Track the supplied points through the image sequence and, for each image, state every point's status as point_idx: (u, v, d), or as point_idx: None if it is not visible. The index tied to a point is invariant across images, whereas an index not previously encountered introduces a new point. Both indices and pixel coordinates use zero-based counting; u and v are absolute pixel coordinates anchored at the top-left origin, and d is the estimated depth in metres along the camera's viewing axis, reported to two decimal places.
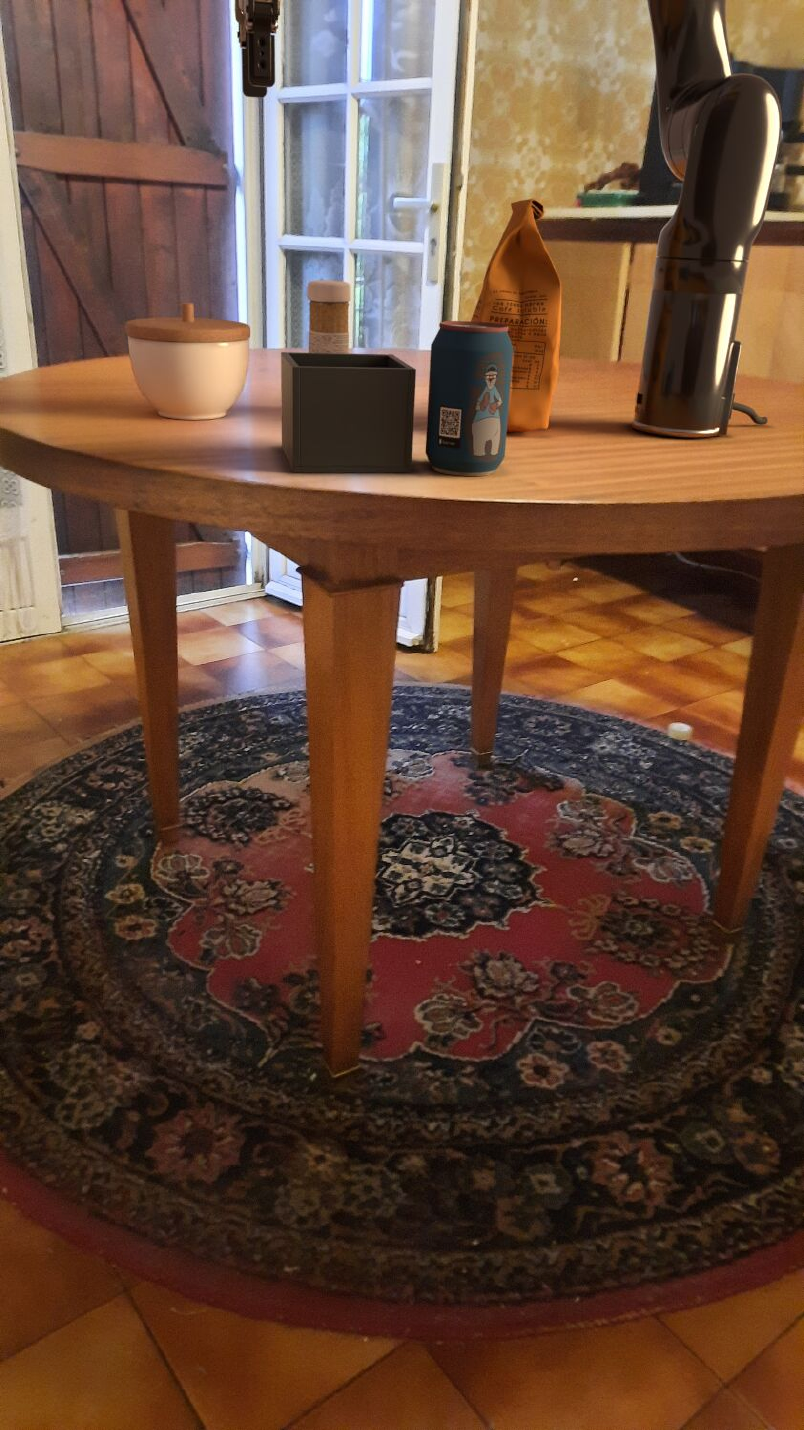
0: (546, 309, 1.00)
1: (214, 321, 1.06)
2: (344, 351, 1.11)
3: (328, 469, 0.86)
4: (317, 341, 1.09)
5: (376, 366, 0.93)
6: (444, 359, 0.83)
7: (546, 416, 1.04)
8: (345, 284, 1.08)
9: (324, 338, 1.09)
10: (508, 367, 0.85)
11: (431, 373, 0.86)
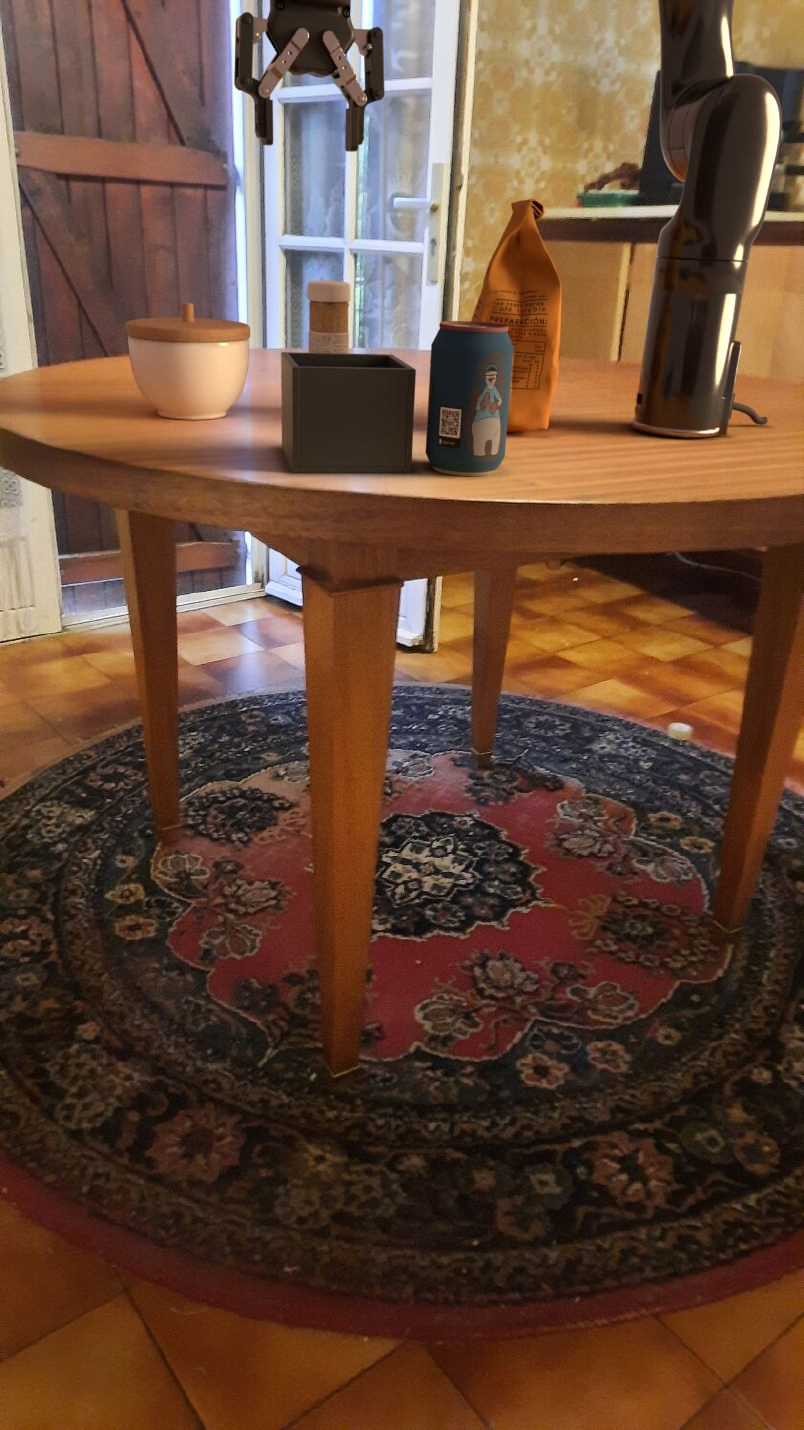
0: (546, 309, 1.00)
1: (214, 321, 1.06)
2: (344, 351, 1.11)
3: (328, 469, 0.86)
4: (317, 341, 1.09)
5: (376, 366, 0.93)
6: (444, 359, 0.83)
7: (546, 416, 1.04)
8: (345, 284, 1.08)
9: (324, 338, 1.09)
10: (508, 367, 0.85)
11: (431, 373, 0.86)
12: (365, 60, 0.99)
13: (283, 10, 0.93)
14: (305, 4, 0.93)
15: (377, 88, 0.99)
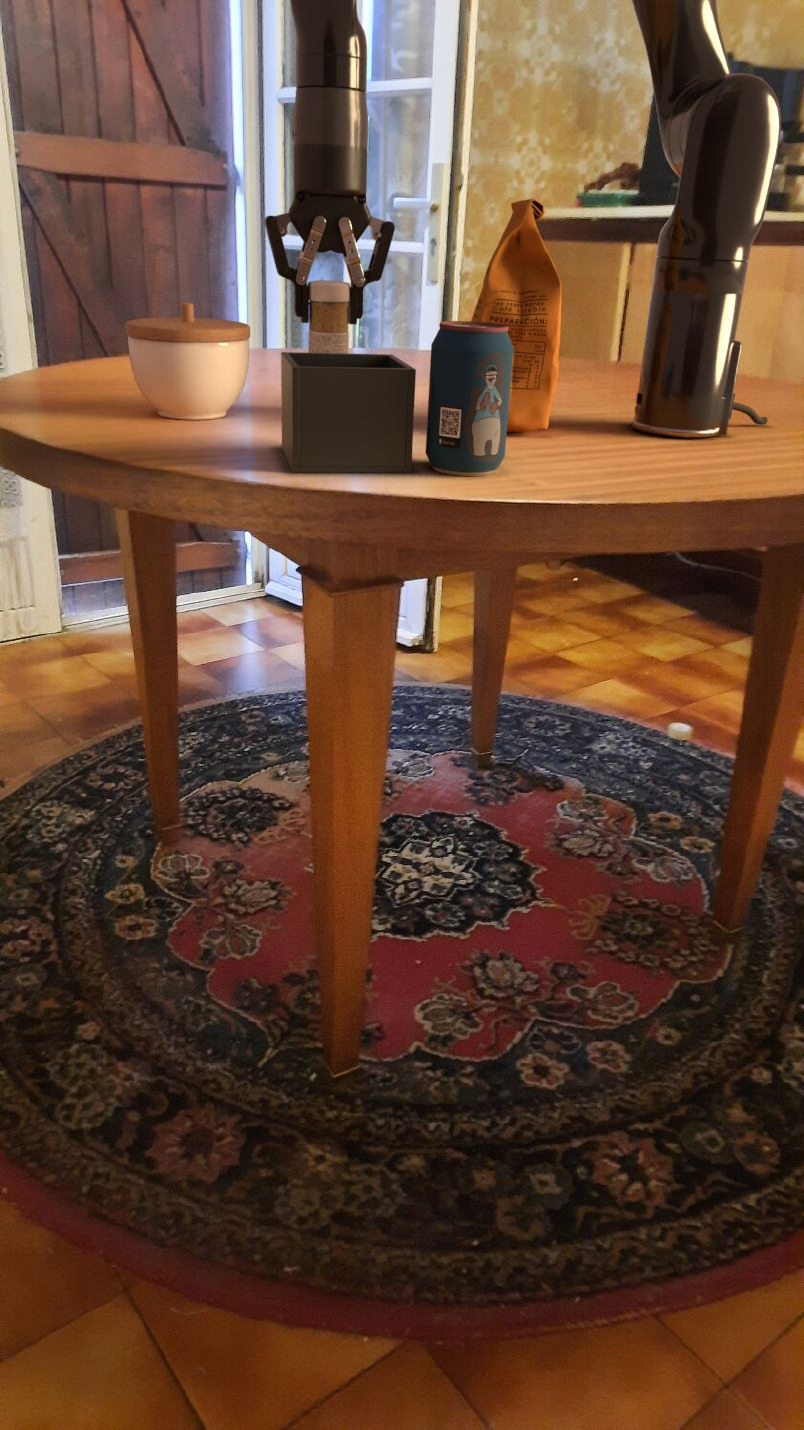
0: (546, 309, 1.00)
1: (214, 321, 1.06)
2: (344, 351, 1.11)
3: (328, 469, 0.86)
4: (317, 341, 1.09)
5: (376, 366, 0.93)
6: (444, 359, 0.83)
7: (546, 416, 1.04)
8: (345, 284, 1.08)
9: (324, 338, 1.09)
10: (508, 367, 0.85)
11: (431, 373, 0.86)
12: (375, 244, 1.09)
13: (303, 200, 1.04)
14: (323, 195, 1.04)
15: (376, 271, 1.08)
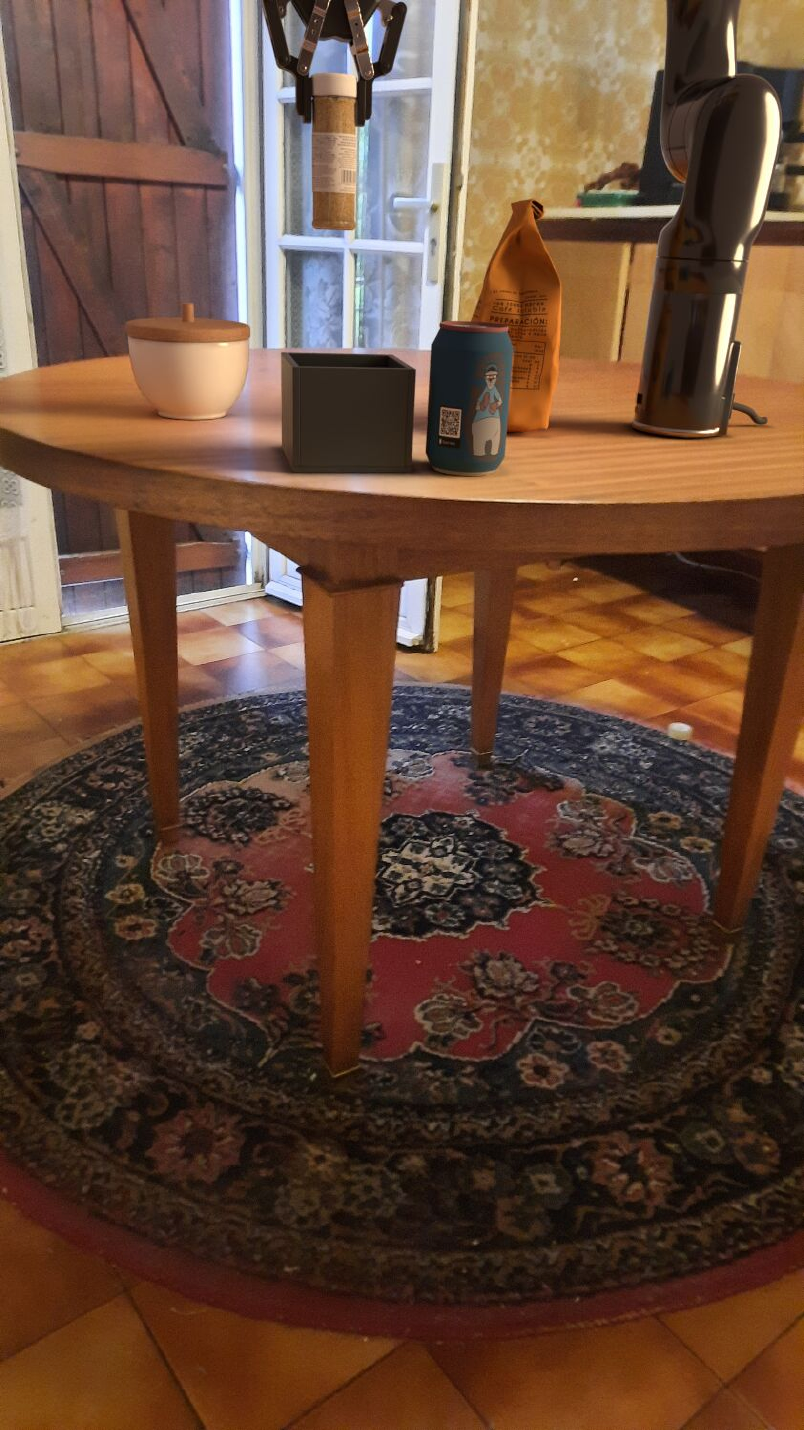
0: (546, 309, 1.00)
1: (214, 321, 1.06)
2: (350, 157, 0.99)
3: (328, 469, 0.86)
4: (320, 143, 0.98)
5: (376, 366, 0.93)
6: (444, 359, 0.83)
7: (546, 416, 1.04)
8: (351, 76, 0.97)
9: (328, 139, 0.98)
10: (508, 367, 0.85)
11: (431, 373, 0.86)
12: (385, 33, 0.97)
13: None
14: None
15: (386, 61, 0.97)
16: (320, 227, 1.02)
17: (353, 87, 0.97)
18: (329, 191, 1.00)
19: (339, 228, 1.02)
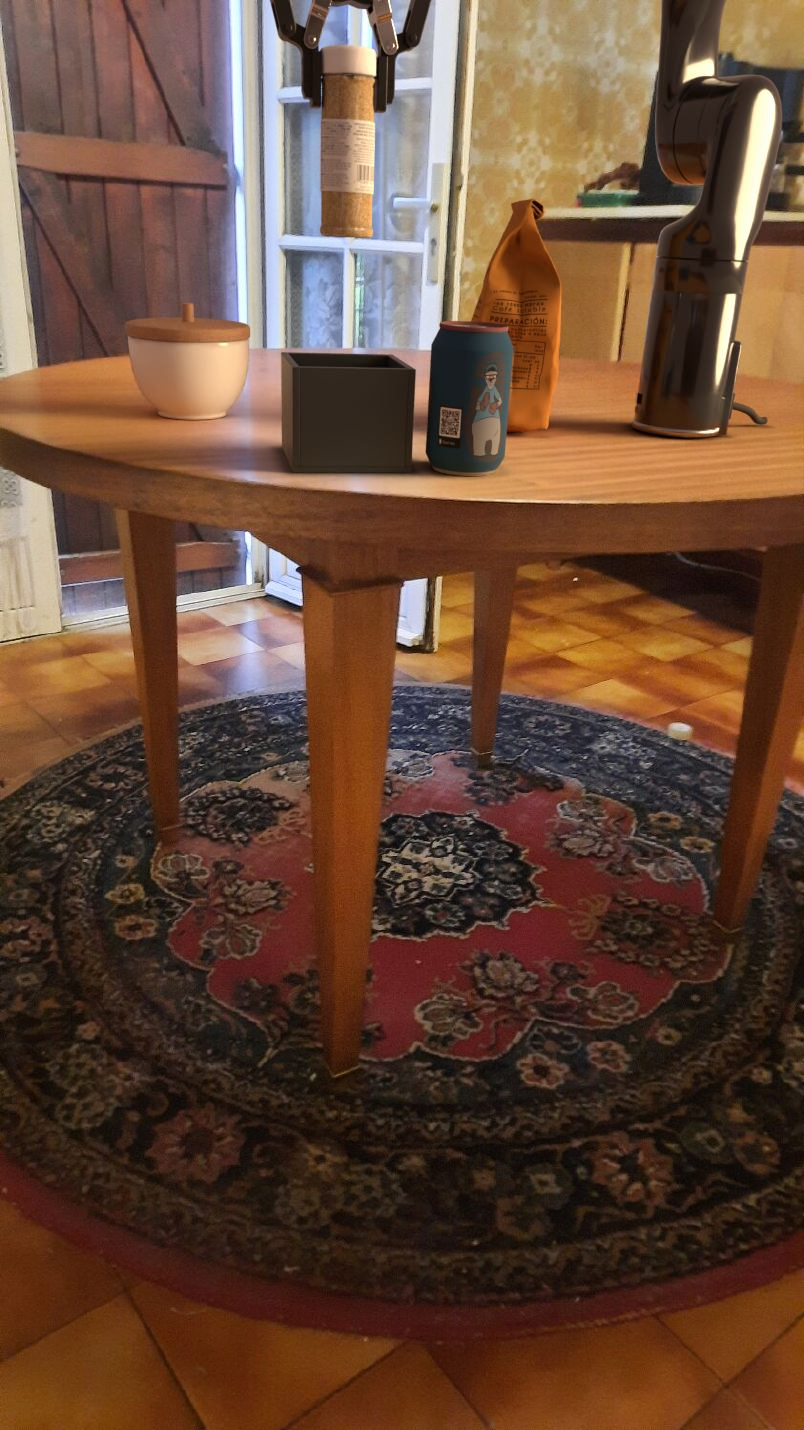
0: (546, 309, 1.00)
1: (214, 321, 1.06)
2: (368, 149, 0.82)
3: (328, 469, 0.86)
4: (332, 132, 0.81)
5: (376, 366, 0.93)
6: (444, 359, 0.83)
7: (546, 416, 1.04)
8: (371, 49, 0.79)
9: (342, 126, 0.80)
10: (508, 367, 0.85)
11: (431, 373, 0.86)
12: None
13: None
14: None
15: (414, 31, 0.79)
16: (330, 234, 0.84)
17: (372, 63, 0.79)
18: (342, 190, 0.82)
19: (354, 236, 0.84)
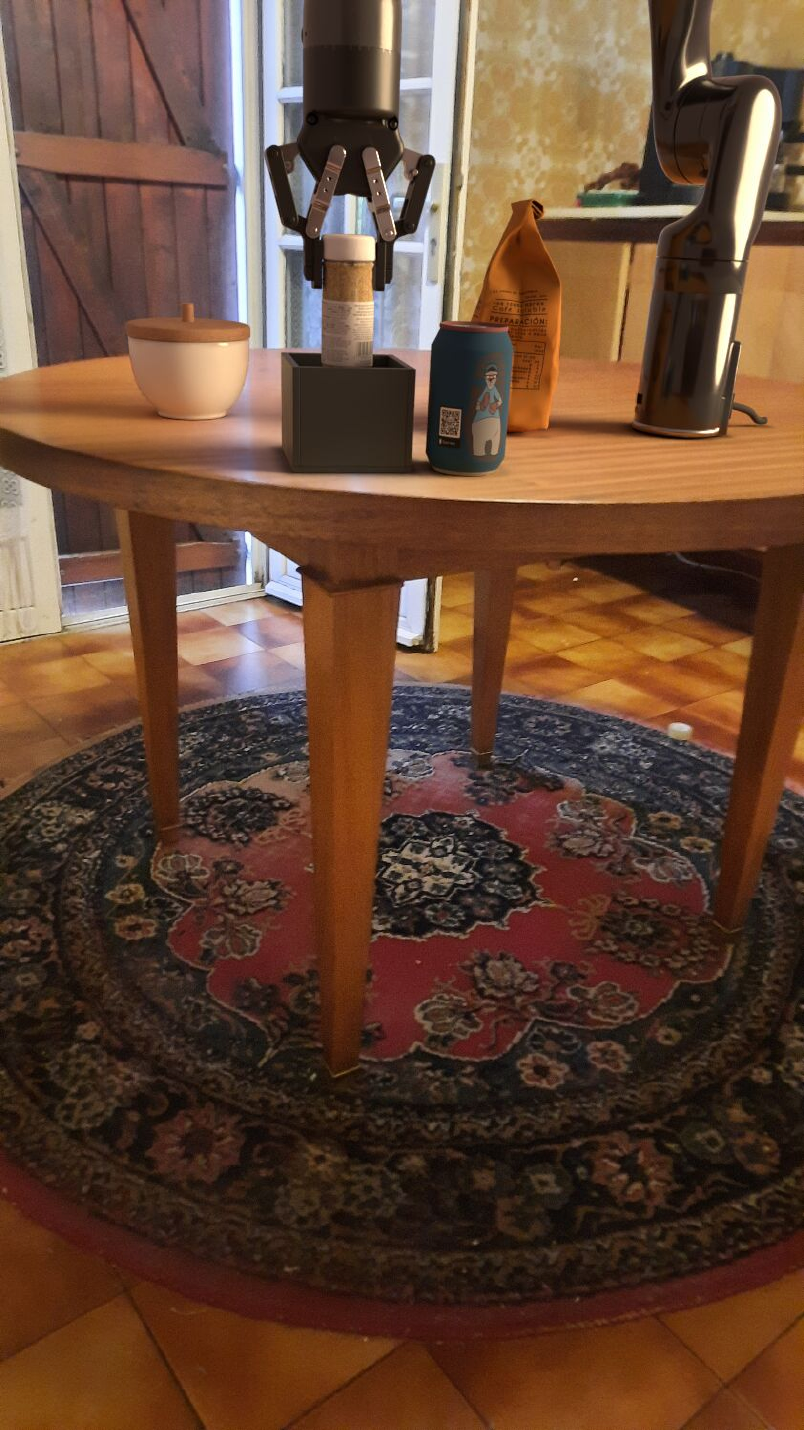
0: (546, 309, 1.00)
1: (214, 321, 1.06)
2: (367, 326, 0.85)
3: (328, 469, 0.86)
4: (332, 312, 0.84)
5: (376, 366, 0.93)
6: (444, 359, 0.83)
7: (546, 416, 1.04)
8: (370, 237, 0.82)
9: (342, 308, 0.84)
10: (508, 367, 0.85)
11: (431, 373, 0.86)
12: (409, 186, 0.83)
13: (316, 125, 0.79)
14: (342, 117, 0.78)
15: (411, 220, 0.83)
16: None
17: (371, 250, 0.83)
18: (343, 365, 0.86)
19: None
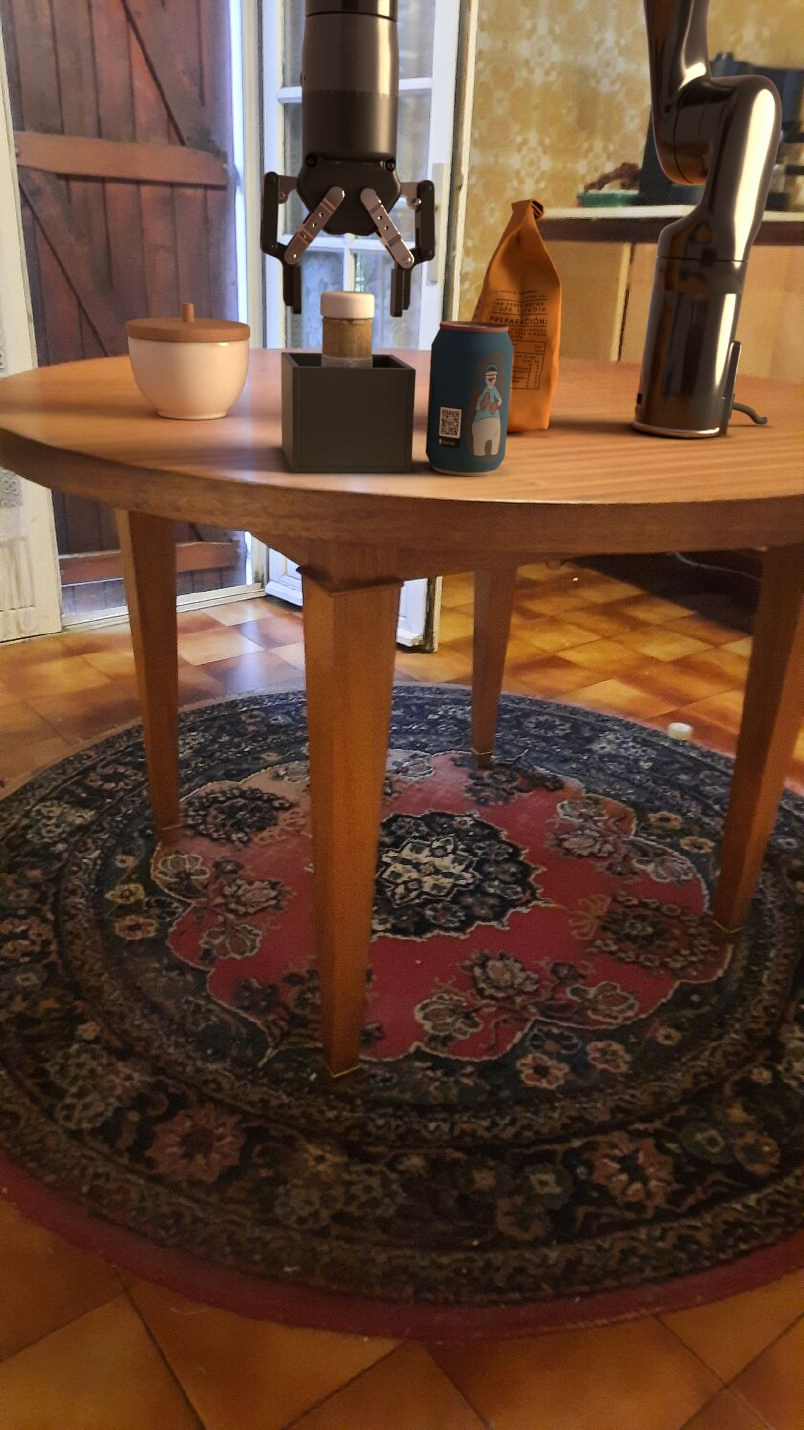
0: (546, 309, 1.00)
1: (214, 321, 1.06)
2: None
3: (328, 469, 0.86)
4: None
5: (376, 366, 0.93)
6: (444, 359, 0.83)
7: (546, 416, 1.04)
8: (368, 296, 0.84)
9: (341, 364, 0.86)
10: (508, 367, 0.85)
11: (431, 373, 0.86)
12: (415, 214, 0.84)
13: (315, 167, 0.80)
14: (340, 159, 0.79)
15: (427, 247, 0.84)
16: None
17: (370, 308, 0.85)
18: None
19: None
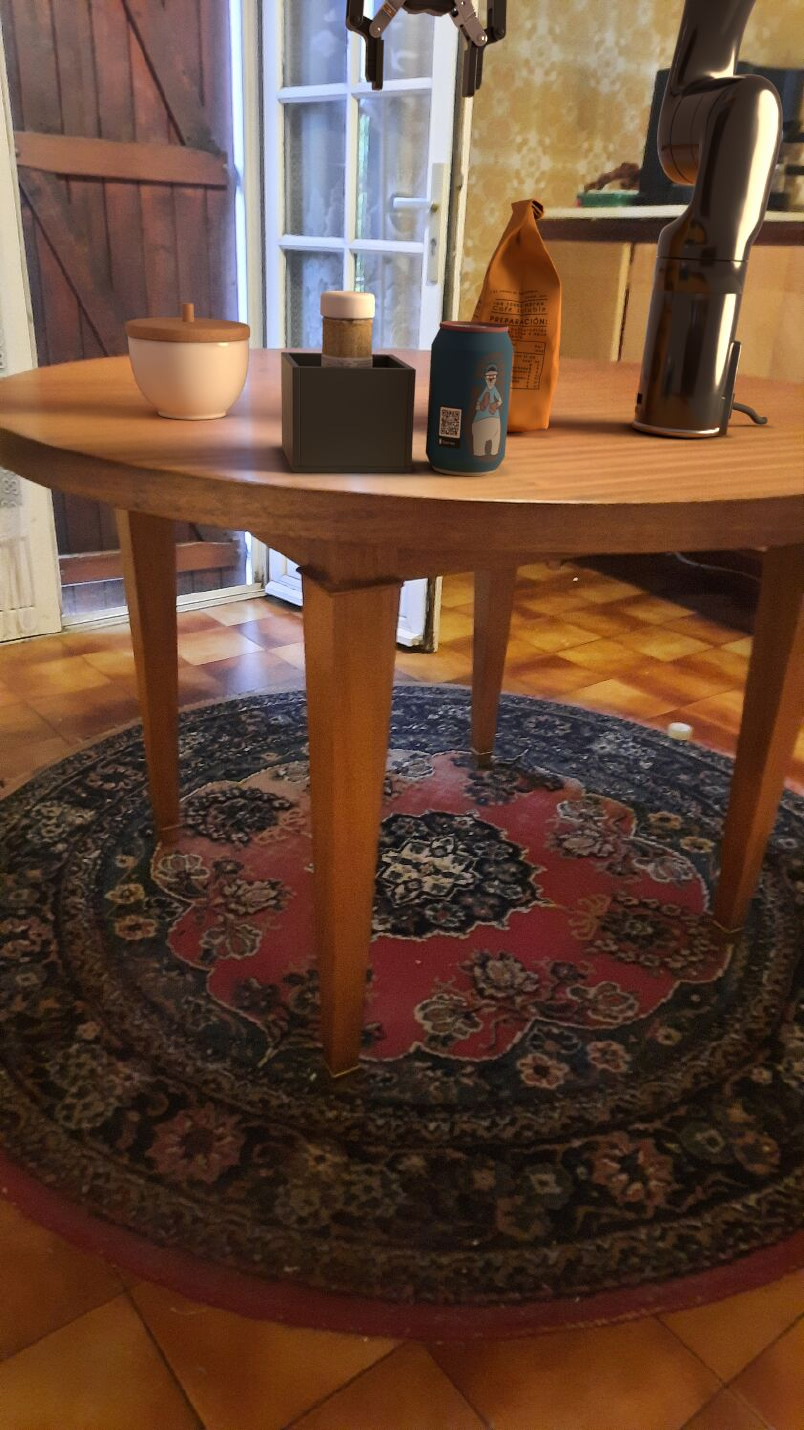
0: (546, 309, 1.00)
1: (214, 321, 1.06)
2: None
3: (328, 469, 0.86)
4: None
5: (376, 366, 0.93)
6: (444, 359, 0.83)
7: (546, 416, 1.04)
8: (368, 296, 0.84)
9: (341, 364, 0.86)
10: (508, 367, 0.85)
11: (431, 373, 0.86)
12: None
13: None
14: None
15: (499, 26, 0.91)
16: None
17: (370, 308, 0.85)
18: None
19: None
